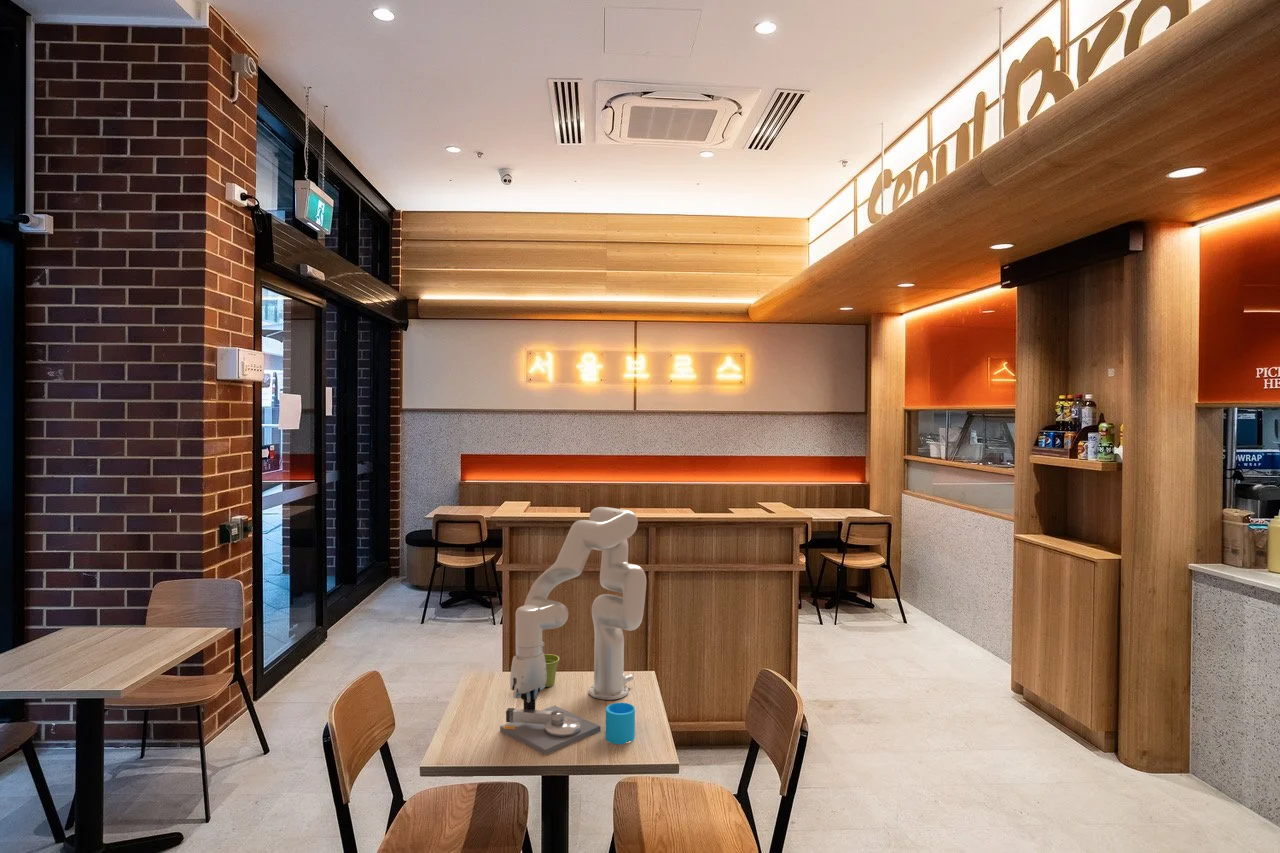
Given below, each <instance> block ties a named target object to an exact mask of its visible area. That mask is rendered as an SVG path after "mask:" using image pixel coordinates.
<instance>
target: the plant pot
mask: <svg viewBox="0 0 1280 853" xmlns="http://www.w3.org/2000/svg"><path fill="white" fill-rule="evenodd" d="M544 656H545V662H546V673H547V679H546V684H545V688H546V687H547V688H551V687H553V686H554V685H555V681H556V675H557V674H556V673H557V668H558V667H557V666H558V664H559V661H560V656H558V655H556V654H549V653H547V654H546V653H544Z"/></svg>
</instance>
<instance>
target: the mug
mask: <svg viewBox="0 0 1280 853" xmlns="http://www.w3.org/2000/svg"><path fill="white" fill-rule="evenodd" d="M635 734H636V707H635V706H634V705H633V704H630V703H628V702H613V703H610V704H609V705H606V707H605V740H606V741H607V742H608V743H610V744H613V743H614V745H625V744H624V743H626V742H629V741H632V740H633V739H634V740H635V738H636V737H635V736H636V735H635ZM634 737H635V738H634ZM634 740H633V741H634ZM633 741H632V742H633Z"/></svg>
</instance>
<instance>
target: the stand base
mask: <svg viewBox="0 0 1280 853" xmlns="http://www.w3.org/2000/svg"><path fill="white" fill-rule="evenodd" d="M542 710H543V711H555V710H561V711H563V712H564V716H568V717H573V718H576V719H578V720H579V721H580V731H579V732H578V733H577V734H575V735H573V736H570V737H553V736H550V735H548V734H546V733H545V724H532V723H516V722H513V723H511V722H506V723H505V724H503V725H500V726H499V732H500V733H502V734H504V735H506V736H508V737H510V738H511V739H514V740H515V741H516V742H519V743H521V744H523V745H525V746H527V747H528V748H531V749H533V750H534V751H537V752H538V753H540V754H542V755H544V756H546V755H547V756H548V755H550V754H552V753H554V752H557V751H559V750H561V749H563V748H565V747H568V746H570V745H572V744H575V743H576V742H578V741H581V740H583V739H586V738H588V737H590V736H592V735H595V734H597V733H598V732H601V725H599V724H597V723H595V722H593V721H590V720H588V719H586V718H584V717H581V716H580V715H577V714H576V713H573V712H570V711H568V710H566V709H564V708H562V707H559V706H557V705H552V706H549V707H547V708H545V709H542Z"/></svg>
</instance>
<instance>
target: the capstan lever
mask: <svg viewBox="0 0 1280 853" xmlns="http://www.w3.org/2000/svg"><path fill="white" fill-rule="evenodd" d="M543 710H544V709H541V710H538V709H535V710H527V709H524V708H514V707H513V708H512V707H508V708H507V709H506V711H505V722H506V723H510V722H511V723H513V722H516V723H532V724H545V733H546V734H548V735H550V736H553V737H570V736H573V735H575V734H577V733H578V732H579V731H580V721H579V720H578V719H576V718H573V717H568V716H564V712H563V711H561V710H555V711H543Z"/></svg>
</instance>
